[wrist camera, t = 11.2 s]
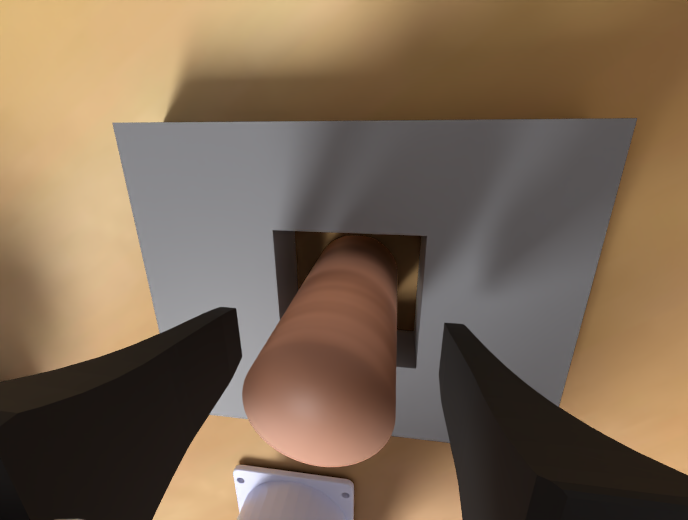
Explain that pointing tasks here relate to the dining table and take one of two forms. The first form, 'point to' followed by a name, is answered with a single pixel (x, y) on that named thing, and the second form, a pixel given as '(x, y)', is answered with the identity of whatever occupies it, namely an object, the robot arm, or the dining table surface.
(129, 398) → the robot arm
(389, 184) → the grey flat holed block
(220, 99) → the dining table surface
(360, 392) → the terracotta peg
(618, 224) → the dining table surface
